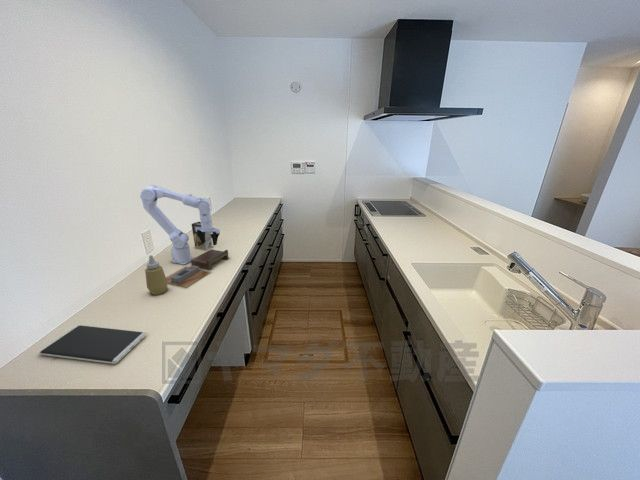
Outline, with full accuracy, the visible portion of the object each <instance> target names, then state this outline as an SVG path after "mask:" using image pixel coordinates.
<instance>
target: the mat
mask: <svg viewBox="0 0 640 480" xmlns="http://www.w3.org/2000/svg"><path fill="white" fill-rule="evenodd" d="M187 268H188V266H185V267H183V268H181V269H179V270H178V271H176V272H174V273H172V274H170V275H168V276H165V277H166V280H167V284H169V285H172V286H173V285H174V286H178V287H181V288H186V289H187V288H188V287H190V286H191V285H193V284H195V283H196V282H198V281H200V280H201V279H203V278H204V277H206V276H207V275H209V274H210V273H211V271H208V270H204V269H200V271H199V272H197V273H195V274H194V275H192V276H190V277H189V278H187V279H185V280H184V281H182V282H180V283H179V284H178V283H174V282H171V277H172V276H174V275H176V274H177V273H179V272H181V271H183V270H185V269H187Z"/></svg>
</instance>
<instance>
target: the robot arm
mask: <svg viewBox="0 0 640 480" xmlns="http://www.w3.org/2000/svg"><path fill="white" fill-rule="evenodd" d="M139 195H140V196H139V198H140V199H141V202H142V203H141V204H142V206H143V208H144V210H145V211H146V212H147V214H149V215H150V216H151V218H152V219H153V220H154V221H155V222H156V223H157V224H158V225H159V226H160V227H161V228H162V229H163V231H164V232H166V234H167V235H168V237H169V240H170V242H171V243H172V247H171V248H170V254H171V258H172V260H171V263H174V264H179V265H187V264H188V263H191V260H192V259H194V258H195V257H192V254H191V248H190V244H189V243H188V241H189V235H188V234H187V233H185V232H183V231H182V230H181V229H179V228H177V227H176V226H175V224H174V223H173V222H172V221H171V220H170V219H169V217H168V216H167V215H165V214H164V212H163V211H162V210H161V208H160V207H158V205H157V203H158V199H162V198H168V199H170V200H175V201H179V202H181V203H183V205H184V206H187V207H191V208H194V209H198V212H199V221H200V222H201V227H196V228H195V230H196V231H197V232H196V234H197V235H198V237H199V238H200V240H201V242H202V244H204V243H205V232H211V234H210V235H211V238H212V246H217V244H218V239H219V237H220V233H221V230H220V229H218V228H215V227H213V219H212V212H211V208H210V207H211V202H210V200H209V199H207V198H205V197H204V198H202V197H198V196H195V195H194V196H193V194H192V193H189V194H188V193H187V194H181V193H178V192H176V191H172V190H170V189H167V188H164V187H162V186H157V185H154V184H151V185H149V186H147V187H144V188H143V189H142V190H141V191H140V194H139Z"/></svg>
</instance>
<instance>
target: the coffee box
mask: <svg viewBox="0 0 640 480" xmlns="http://www.w3.org/2000/svg"><path fill="white" fill-rule="evenodd" d="M190 225H191V230H192V234H193V235H192V236H193V242H194V248H195V249H199V250H204V251H208V250H210V249H212V248H213V246H214V245H213V240H212V237H211V235H210V234H212V233H211V232H205V243H204V244H202V242H201V240H200V238H199V237H198V235H197V234H196V232H197V231H196V230H195V228H196V227H201V221H196V222H193V223H191V224H190Z"/></svg>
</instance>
